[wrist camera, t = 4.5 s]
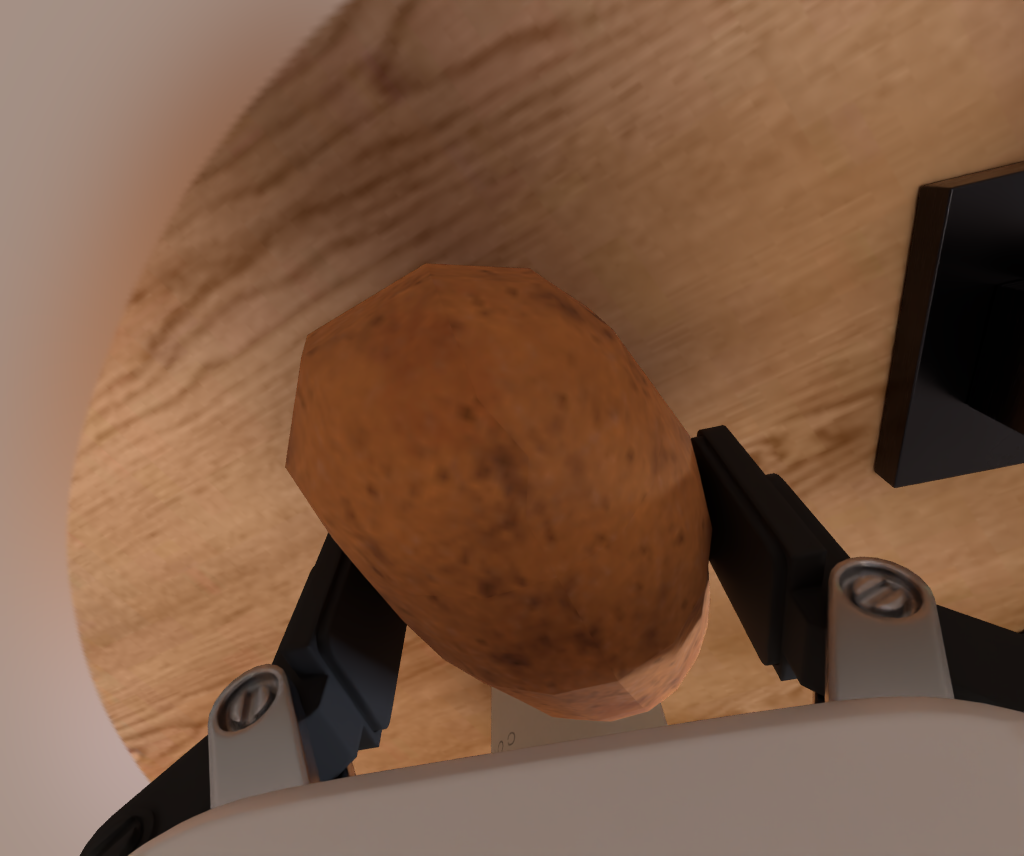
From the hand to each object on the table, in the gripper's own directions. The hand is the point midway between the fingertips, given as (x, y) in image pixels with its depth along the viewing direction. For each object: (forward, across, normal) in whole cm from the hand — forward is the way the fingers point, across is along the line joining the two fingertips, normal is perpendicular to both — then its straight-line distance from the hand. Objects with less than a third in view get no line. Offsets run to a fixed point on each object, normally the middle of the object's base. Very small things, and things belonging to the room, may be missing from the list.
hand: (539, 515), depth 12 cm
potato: (+3, 0, 0) cm, 3 cm away
